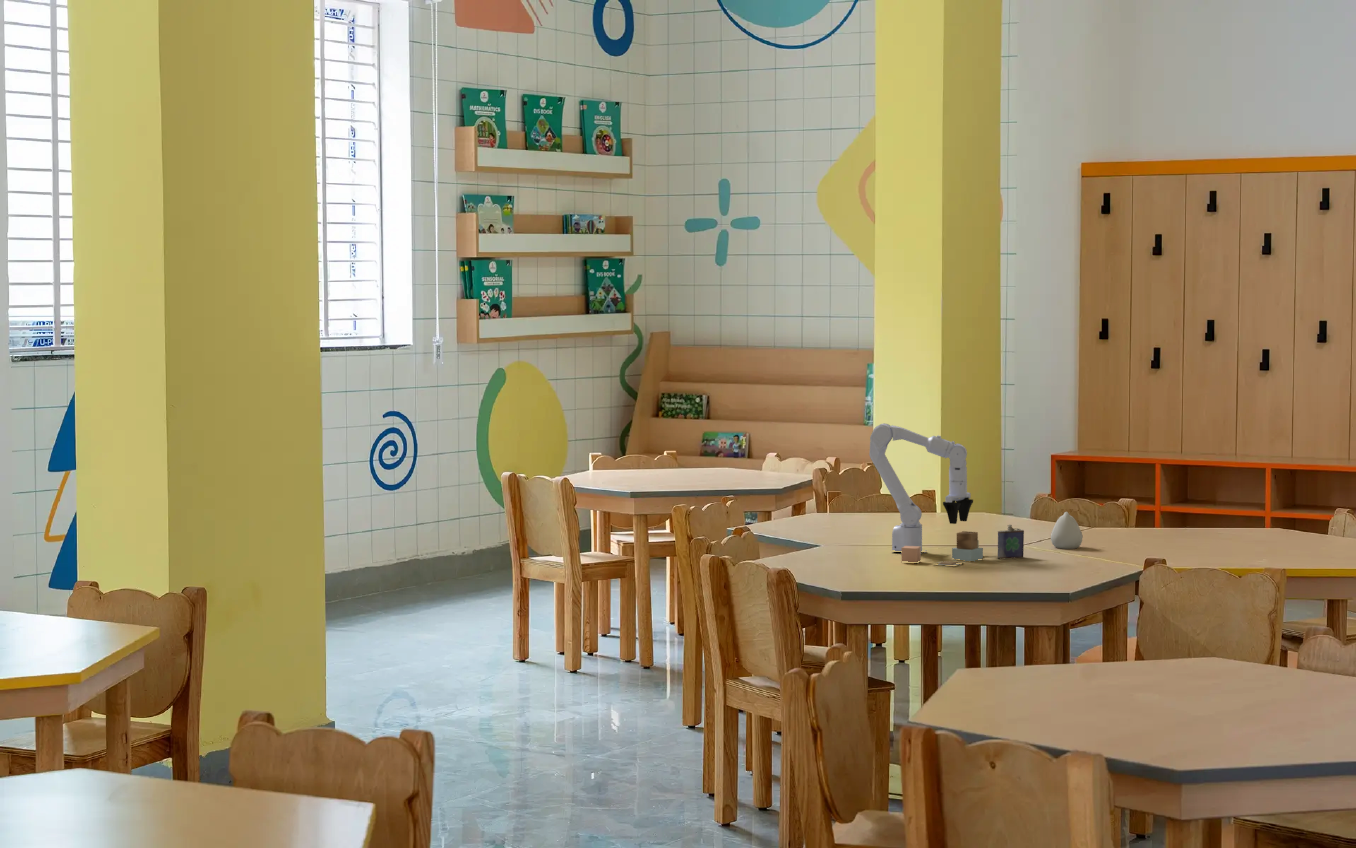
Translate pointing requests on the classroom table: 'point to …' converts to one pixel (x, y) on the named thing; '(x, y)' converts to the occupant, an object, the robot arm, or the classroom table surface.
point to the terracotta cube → (911, 553)
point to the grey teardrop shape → (1066, 533)
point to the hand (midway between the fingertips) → (958, 522)
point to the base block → (967, 554)
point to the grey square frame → (947, 563)
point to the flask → (1011, 543)
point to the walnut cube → (967, 540)
